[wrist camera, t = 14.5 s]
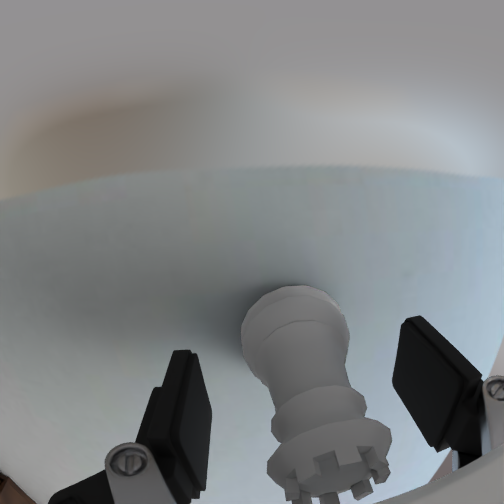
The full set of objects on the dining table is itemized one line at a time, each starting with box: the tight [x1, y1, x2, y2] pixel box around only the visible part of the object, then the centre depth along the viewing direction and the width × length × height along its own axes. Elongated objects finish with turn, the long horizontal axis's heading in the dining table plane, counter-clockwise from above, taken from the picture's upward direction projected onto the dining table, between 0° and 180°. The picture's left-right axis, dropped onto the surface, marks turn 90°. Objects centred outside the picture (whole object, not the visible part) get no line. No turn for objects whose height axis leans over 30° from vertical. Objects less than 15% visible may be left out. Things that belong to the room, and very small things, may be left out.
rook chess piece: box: [241, 285, 392, 504], centre depth 9 cm, size 4×4×8 cm
